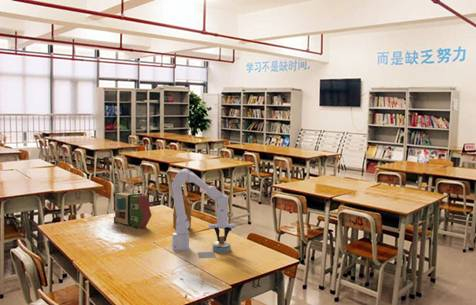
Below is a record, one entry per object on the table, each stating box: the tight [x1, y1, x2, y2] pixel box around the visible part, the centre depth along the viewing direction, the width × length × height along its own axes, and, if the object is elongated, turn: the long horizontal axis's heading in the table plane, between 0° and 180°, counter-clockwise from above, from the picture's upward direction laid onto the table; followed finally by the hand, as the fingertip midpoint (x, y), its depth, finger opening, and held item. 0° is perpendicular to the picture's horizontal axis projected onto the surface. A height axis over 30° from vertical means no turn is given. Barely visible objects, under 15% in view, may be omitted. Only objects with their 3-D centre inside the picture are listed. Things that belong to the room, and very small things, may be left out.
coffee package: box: [172, 194, 192, 229], centre depth 283 cm, size 10×12×22 cm
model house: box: [113, 191, 153, 230], centre depth 283 cm, size 21×9×30 cm
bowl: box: [211, 243, 232, 254], centre depth 240 cm, size 10×10×3 cm
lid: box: [212, 235, 231, 247], centre depth 239 cm, size 9×9×4 cm
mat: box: [197, 251, 217, 259], centre depth 231 cm, size 9×9×1 cm
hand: (221, 240), depth 240 cm, fingers closed on lid, 3 cm apart
